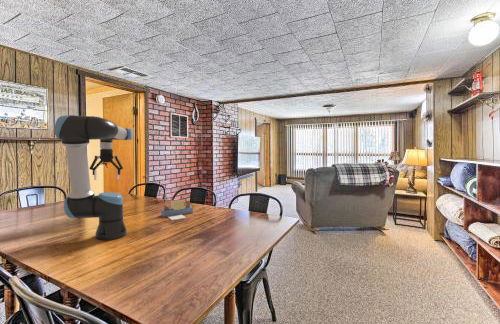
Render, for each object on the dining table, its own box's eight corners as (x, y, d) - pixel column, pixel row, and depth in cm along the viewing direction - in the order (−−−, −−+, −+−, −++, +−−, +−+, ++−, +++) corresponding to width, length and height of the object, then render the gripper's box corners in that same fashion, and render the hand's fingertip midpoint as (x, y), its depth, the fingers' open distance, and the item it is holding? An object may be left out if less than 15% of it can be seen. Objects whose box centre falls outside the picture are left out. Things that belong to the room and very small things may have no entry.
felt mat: (186, 218, 176) (186, 217, 176) (171, 220, 170) (171, 219, 170) (181, 215, 183) (181, 214, 183) (167, 217, 177) (167, 216, 177)
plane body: (192, 212, 191) (192, 200, 191) (163, 216, 178) (163, 204, 178) (190, 211, 195) (190, 199, 195) (161, 215, 183) (161, 202, 182)
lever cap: (183, 208, 186) (184, 201, 186) (173, 210, 182) (173, 202, 182) (180, 207, 192) (180, 199, 191) (170, 208, 187) (170, 201, 187)
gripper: (127, 149, 181) (127, 178, 181) (87, 148, 174) (88, 179, 175) (125, 149, 173) (125, 179, 174) (83, 148, 167) (84, 180, 168)
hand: (106, 179), depth 175 cm, fingers open, 13 cm apart
